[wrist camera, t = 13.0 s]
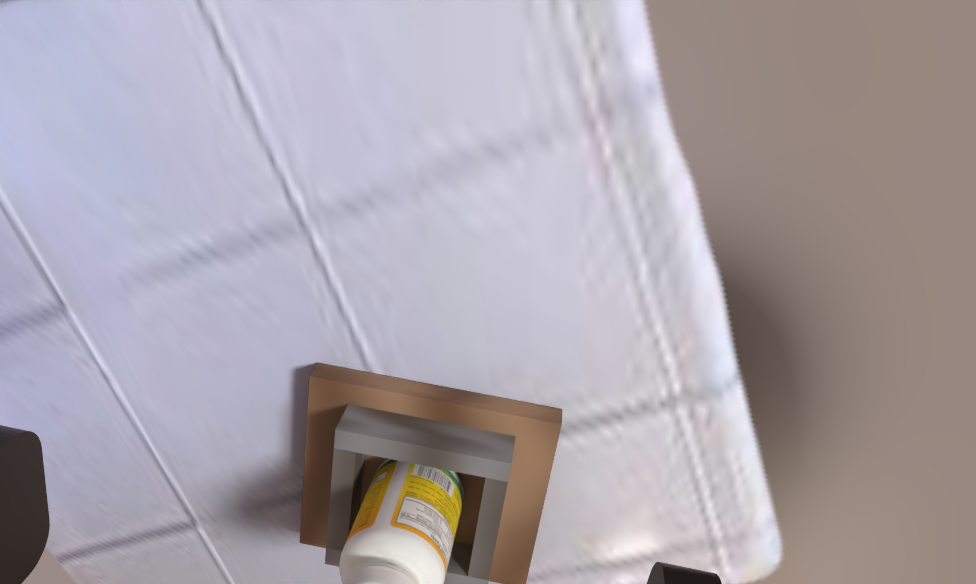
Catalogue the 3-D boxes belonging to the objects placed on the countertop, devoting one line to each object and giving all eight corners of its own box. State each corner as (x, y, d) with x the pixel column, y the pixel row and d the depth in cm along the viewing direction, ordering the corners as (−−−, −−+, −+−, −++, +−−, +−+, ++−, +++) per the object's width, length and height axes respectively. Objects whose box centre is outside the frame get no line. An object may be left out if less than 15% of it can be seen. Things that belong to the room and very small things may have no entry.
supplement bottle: (456, 444, 44) (422, 570, 35) (472, 520, 46) (444, 657, 37) (364, 450, 44) (309, 574, 36) (383, 525, 47) (336, 659, 38)
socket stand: (307, 526, 49) (285, 572, 46) (317, 362, 44) (293, 400, 41) (526, 570, 49) (521, 620, 45) (562, 409, 44) (560, 451, 40)
